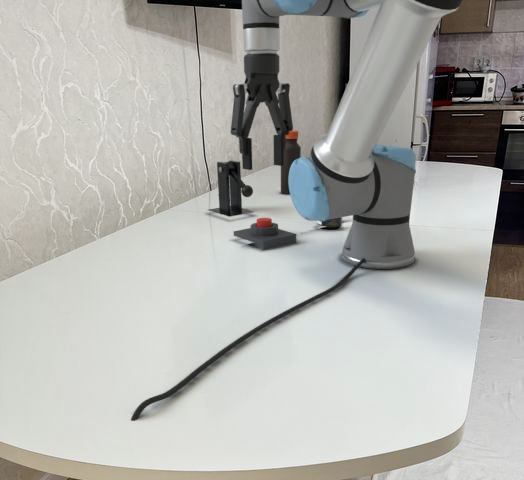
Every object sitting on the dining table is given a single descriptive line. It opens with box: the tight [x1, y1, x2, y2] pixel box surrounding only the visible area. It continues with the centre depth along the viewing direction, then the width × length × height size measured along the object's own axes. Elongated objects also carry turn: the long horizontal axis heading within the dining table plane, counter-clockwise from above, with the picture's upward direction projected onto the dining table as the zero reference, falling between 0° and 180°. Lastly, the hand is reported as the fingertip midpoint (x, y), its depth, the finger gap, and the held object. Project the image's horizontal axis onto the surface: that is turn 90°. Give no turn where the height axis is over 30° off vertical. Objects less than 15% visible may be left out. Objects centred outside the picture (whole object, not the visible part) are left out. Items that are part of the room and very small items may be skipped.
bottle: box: [280, 130, 302, 195], centre depth 179 cm, size 7×7×20 cm
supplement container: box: [316, 217, 343, 231], centre depth 136 cm, size 7×7×10 cm
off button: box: [256, 217, 273, 227], centre depth 126 cm, size 4×4×2 cm
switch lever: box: [224, 161, 254, 198], centre depth 146 cm, size 13×3×3 cm
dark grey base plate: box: [233, 222, 297, 251], centre depth 127 cm, size 12×10×4 cm
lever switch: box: [208, 159, 255, 218], centre depth 151 cm, size 12×9×15 cm
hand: (263, 167), depth 120 cm, fingers open, 8 cm apart
